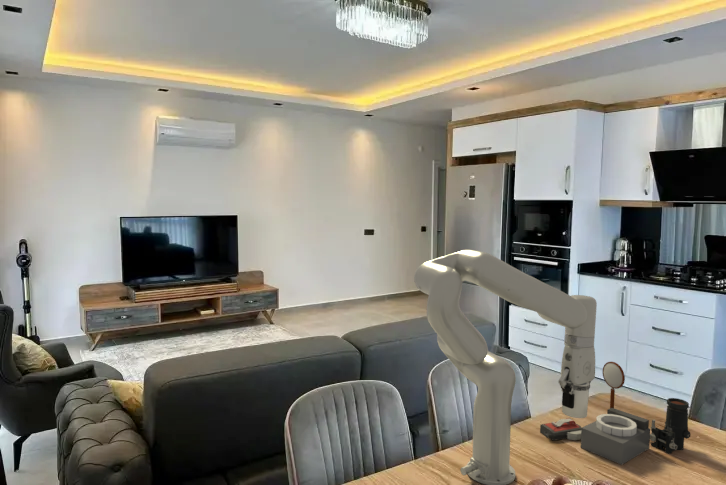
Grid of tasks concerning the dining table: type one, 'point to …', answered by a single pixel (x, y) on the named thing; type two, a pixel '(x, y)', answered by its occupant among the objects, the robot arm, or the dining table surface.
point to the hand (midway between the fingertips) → (575, 403)
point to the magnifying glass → (613, 378)
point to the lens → (578, 401)
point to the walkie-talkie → (561, 430)
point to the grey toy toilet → (616, 436)
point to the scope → (672, 427)
